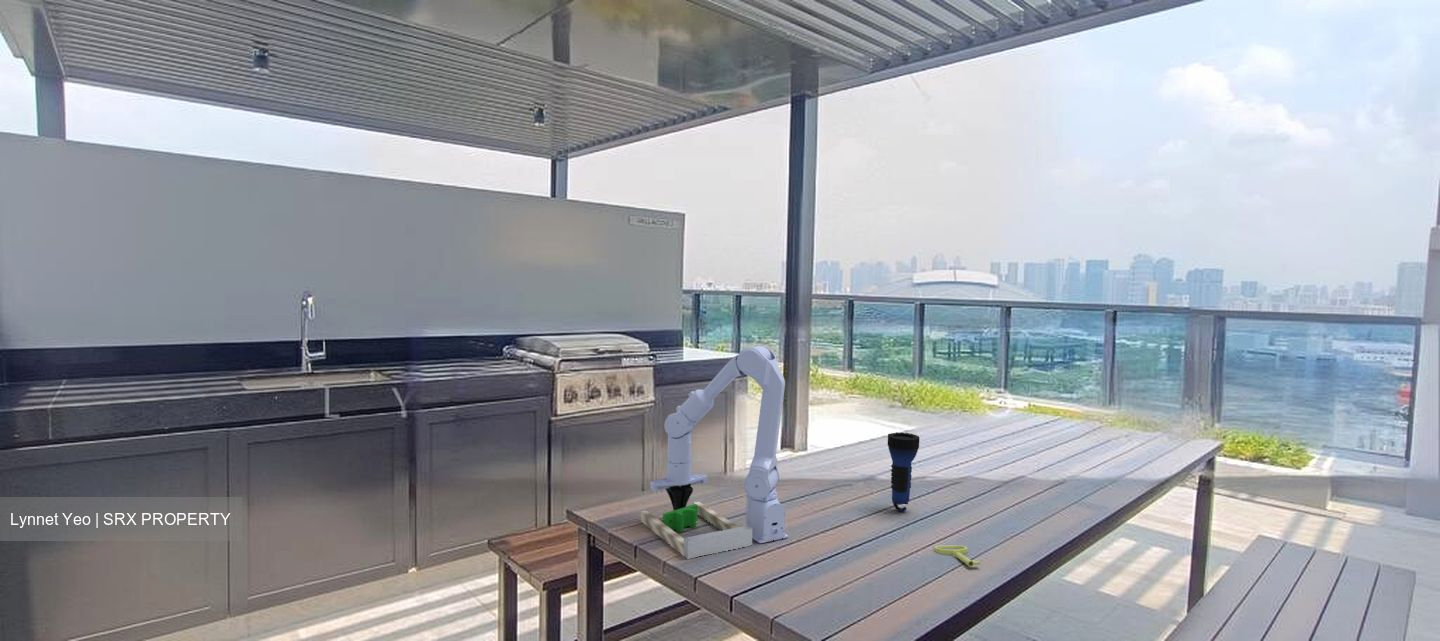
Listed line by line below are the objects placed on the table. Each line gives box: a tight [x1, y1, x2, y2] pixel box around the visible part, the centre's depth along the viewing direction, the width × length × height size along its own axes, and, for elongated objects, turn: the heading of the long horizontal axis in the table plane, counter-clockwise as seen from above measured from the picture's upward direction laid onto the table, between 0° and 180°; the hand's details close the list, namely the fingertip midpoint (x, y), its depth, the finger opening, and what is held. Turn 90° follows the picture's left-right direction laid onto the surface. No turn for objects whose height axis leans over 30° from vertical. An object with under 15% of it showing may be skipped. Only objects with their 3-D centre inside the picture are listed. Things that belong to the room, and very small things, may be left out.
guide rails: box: [640, 501, 740, 557], centre depth 152 cm, size 24×16×2 cm, turn 29°
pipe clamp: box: [662, 503, 698, 533], centre depth 154 cm, size 10×4×4 cm, turn 136°
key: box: [933, 544, 981, 568], centre depth 139 cm, size 7×12×2 cm, turn 23°
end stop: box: [683, 525, 753, 560], centre depth 140 cm, size 2×16×4 cm, turn 119°
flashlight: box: [887, 432, 920, 512], centre depth 168 cm, size 8×8×20 cm
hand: (678, 515), depth 158 cm, fingers closed
